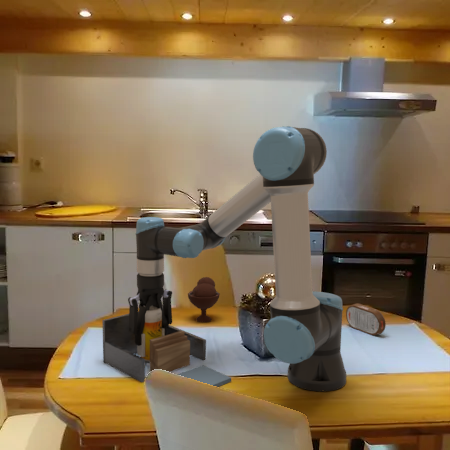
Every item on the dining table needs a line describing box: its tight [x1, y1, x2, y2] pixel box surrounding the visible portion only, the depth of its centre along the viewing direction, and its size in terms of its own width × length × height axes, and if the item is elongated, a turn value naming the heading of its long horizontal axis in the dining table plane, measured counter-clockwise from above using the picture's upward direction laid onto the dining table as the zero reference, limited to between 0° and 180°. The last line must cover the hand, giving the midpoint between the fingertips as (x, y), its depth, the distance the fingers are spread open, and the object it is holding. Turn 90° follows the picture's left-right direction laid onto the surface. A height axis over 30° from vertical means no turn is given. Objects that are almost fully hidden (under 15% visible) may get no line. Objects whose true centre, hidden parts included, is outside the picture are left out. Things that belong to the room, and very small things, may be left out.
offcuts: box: [149, 330, 191, 373], centre depth 147 cm, size 4×11×9 cm, turn 134°
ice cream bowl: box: [187, 276, 221, 323], centre depth 187 cm, size 11×11×15 cm
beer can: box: [139, 306, 162, 363], centre depth 152 cm, size 6×6×15 cm
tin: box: [345, 303, 387, 336], centre depth 178 cm, size 15×3×8 cm, turn 34°
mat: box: [177, 364, 232, 388], centre depth 139 cm, size 11×11×1 cm
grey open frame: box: [102, 306, 207, 383], centre depth 151 cm, size 18×22×12 cm
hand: (151, 352), depth 153 cm, fingers closed on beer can, 6 cm apart
